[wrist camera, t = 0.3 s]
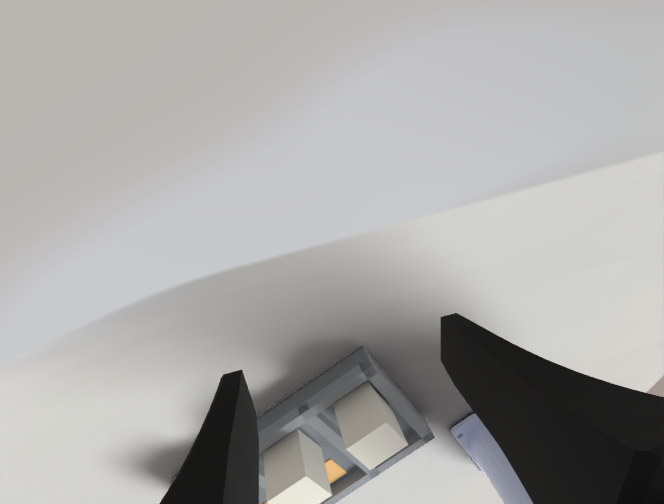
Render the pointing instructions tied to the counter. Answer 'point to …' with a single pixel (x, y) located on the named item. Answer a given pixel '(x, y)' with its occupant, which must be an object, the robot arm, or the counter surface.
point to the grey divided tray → (322, 426)
